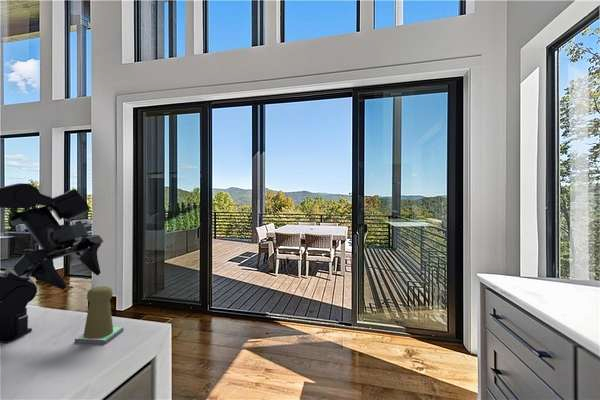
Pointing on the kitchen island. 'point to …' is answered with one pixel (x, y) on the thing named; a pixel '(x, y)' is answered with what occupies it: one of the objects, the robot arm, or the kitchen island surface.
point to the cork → (99, 313)
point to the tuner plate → (99, 340)
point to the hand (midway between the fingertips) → (83, 281)
